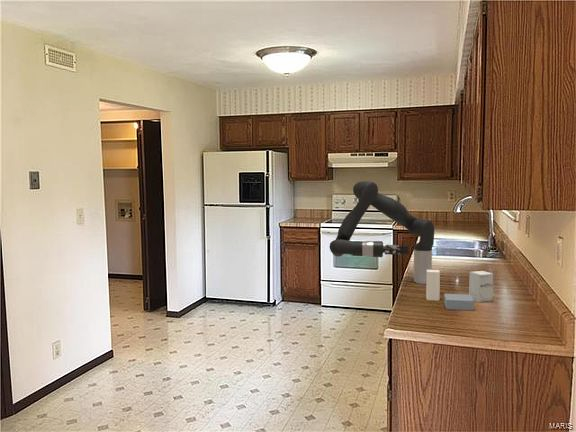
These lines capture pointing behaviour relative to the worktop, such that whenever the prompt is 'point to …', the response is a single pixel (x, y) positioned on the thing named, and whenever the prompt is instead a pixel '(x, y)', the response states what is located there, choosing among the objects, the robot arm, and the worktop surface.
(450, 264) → the worktop surface
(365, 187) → the robot arm
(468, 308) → the plinth
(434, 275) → the cream block
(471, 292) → the supplement box
